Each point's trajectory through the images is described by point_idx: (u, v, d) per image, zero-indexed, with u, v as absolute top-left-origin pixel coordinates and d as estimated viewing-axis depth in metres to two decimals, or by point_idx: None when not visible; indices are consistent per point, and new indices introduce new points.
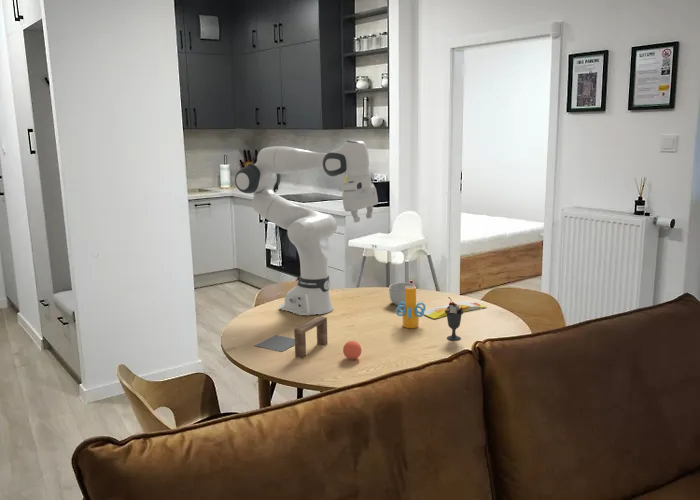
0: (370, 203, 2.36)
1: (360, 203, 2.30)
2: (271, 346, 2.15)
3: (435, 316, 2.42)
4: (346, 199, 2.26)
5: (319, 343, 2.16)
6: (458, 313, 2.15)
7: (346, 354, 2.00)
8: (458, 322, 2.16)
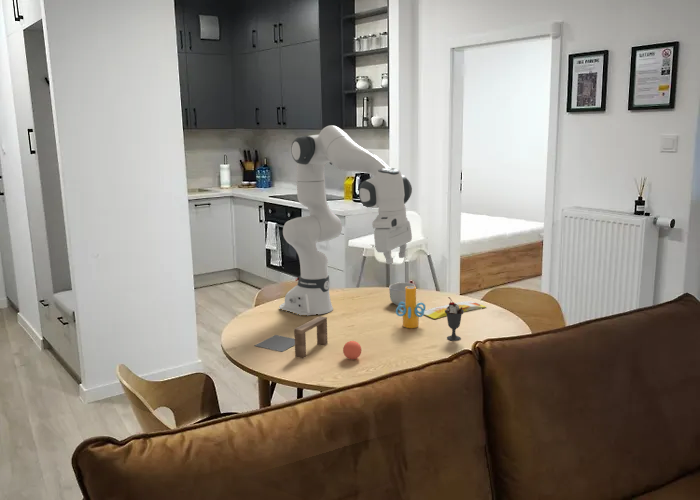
0: (404, 241, 2.04)
1: (394, 242, 1.98)
2: (271, 346, 2.15)
3: (435, 316, 2.42)
4: (378, 239, 1.94)
5: (319, 343, 2.16)
6: (458, 313, 2.15)
7: (346, 354, 2.00)
8: (458, 322, 2.16)
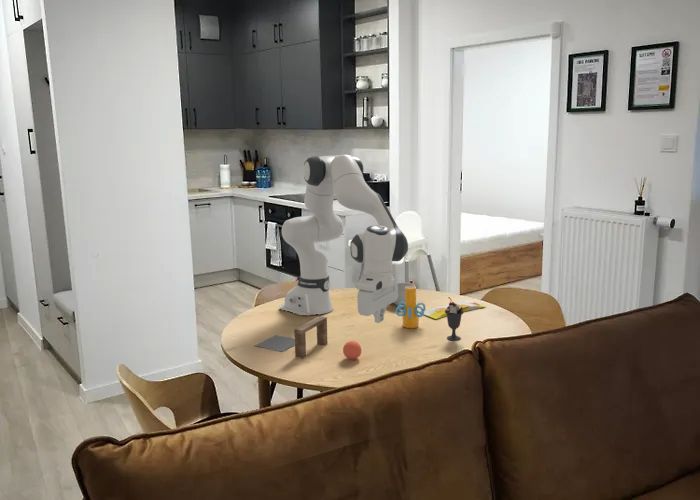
0: (389, 301, 1.96)
1: (378, 304, 1.90)
2: (271, 346, 2.15)
3: (436, 316, 2.41)
4: (361, 301, 1.85)
5: (319, 343, 2.16)
6: (458, 313, 2.15)
7: (346, 354, 2.00)
8: (458, 322, 2.16)
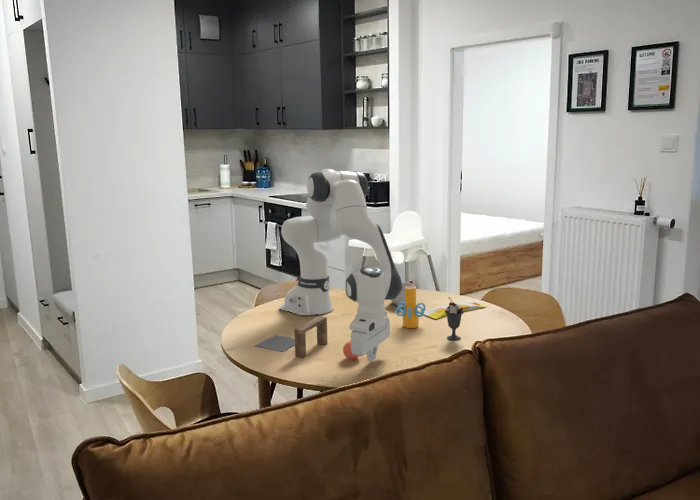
0: (382, 339, 2.01)
1: (371, 344, 1.94)
2: (271, 346, 2.15)
3: (436, 316, 2.42)
4: (355, 342, 1.90)
5: (319, 343, 2.16)
6: (458, 313, 2.15)
7: (346, 354, 2.00)
8: (458, 322, 2.16)
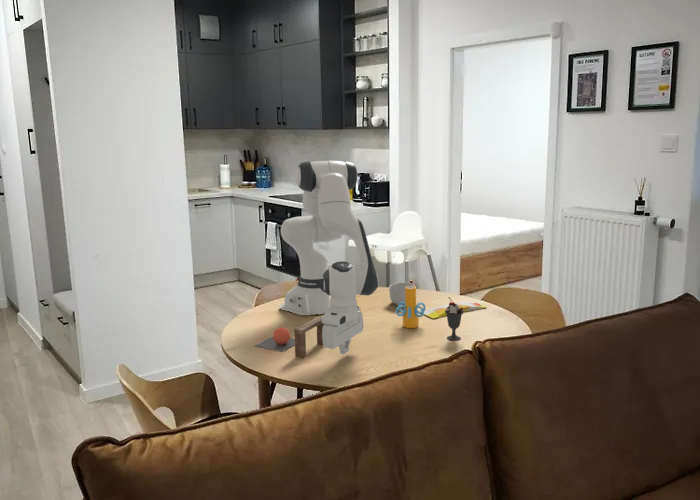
0: (354, 333, 2.05)
1: (343, 337, 1.99)
2: (271, 346, 2.15)
3: (434, 316, 2.42)
4: (326, 335, 1.94)
5: (319, 343, 2.16)
6: (458, 313, 2.15)
7: (277, 337, 2.14)
8: (458, 322, 2.16)
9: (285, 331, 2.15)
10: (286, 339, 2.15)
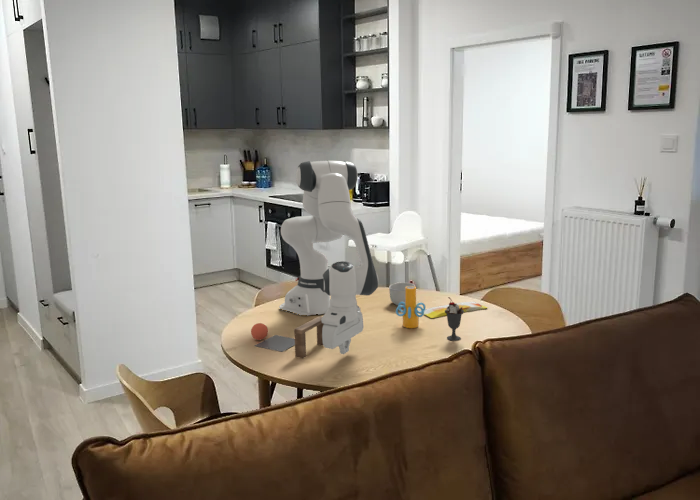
0: (354, 333, 2.05)
1: (343, 337, 1.99)
2: (271, 346, 2.15)
3: (433, 315, 2.43)
4: (326, 335, 1.94)
5: (319, 343, 2.16)
6: (458, 313, 2.15)
7: (253, 335, 2.20)
8: (458, 322, 2.16)
9: None
10: None
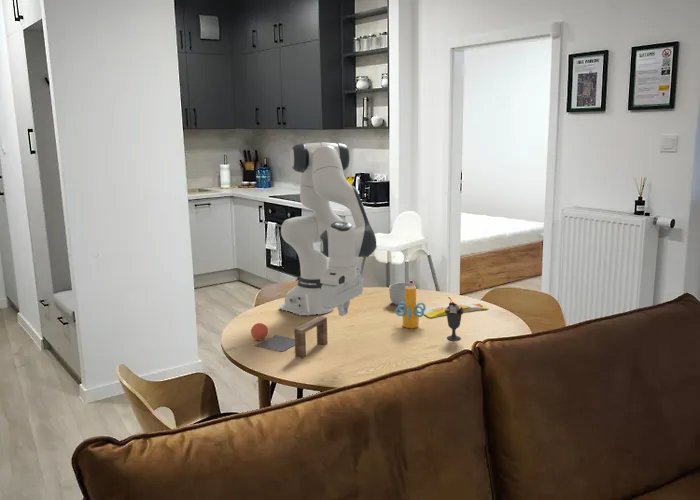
0: (353, 295, 2.02)
1: (342, 298, 1.96)
2: (271, 346, 2.15)
3: (432, 315, 2.43)
4: (325, 295, 1.92)
5: (319, 343, 2.16)
6: (458, 313, 2.15)
7: (253, 335, 2.20)
8: (458, 322, 2.16)
9: None
10: None
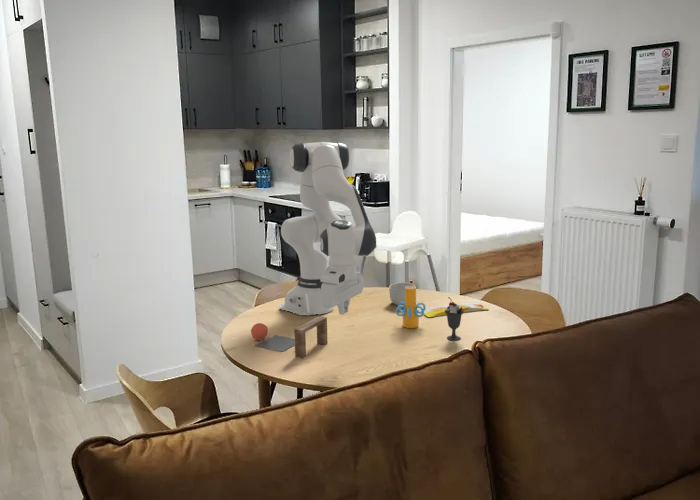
0: (353, 293, 2.02)
1: (342, 296, 1.96)
2: (271, 346, 2.15)
3: (430, 315, 2.44)
4: (325, 294, 1.91)
5: (319, 343, 2.16)
6: (458, 313, 2.15)
7: (253, 335, 2.20)
8: (458, 322, 2.16)
9: None
10: None
